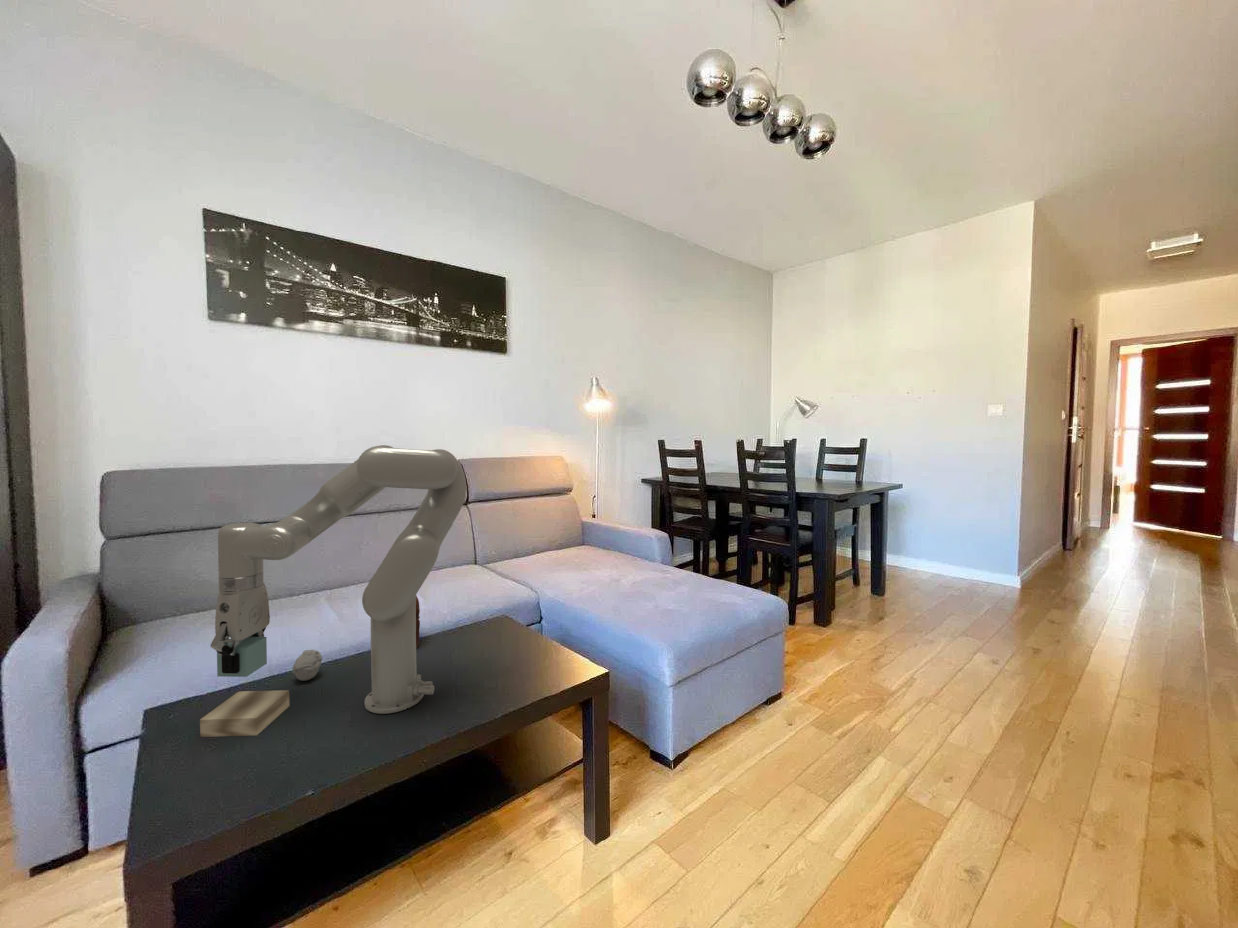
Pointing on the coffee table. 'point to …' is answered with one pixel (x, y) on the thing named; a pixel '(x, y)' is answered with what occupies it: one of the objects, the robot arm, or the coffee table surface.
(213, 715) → the birch block
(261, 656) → the teal cube
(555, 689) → the coffee table surface
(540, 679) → the coffee table surface
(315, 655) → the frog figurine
